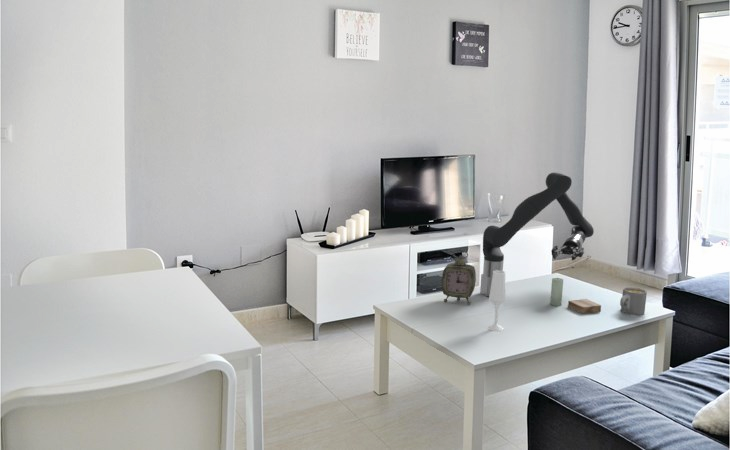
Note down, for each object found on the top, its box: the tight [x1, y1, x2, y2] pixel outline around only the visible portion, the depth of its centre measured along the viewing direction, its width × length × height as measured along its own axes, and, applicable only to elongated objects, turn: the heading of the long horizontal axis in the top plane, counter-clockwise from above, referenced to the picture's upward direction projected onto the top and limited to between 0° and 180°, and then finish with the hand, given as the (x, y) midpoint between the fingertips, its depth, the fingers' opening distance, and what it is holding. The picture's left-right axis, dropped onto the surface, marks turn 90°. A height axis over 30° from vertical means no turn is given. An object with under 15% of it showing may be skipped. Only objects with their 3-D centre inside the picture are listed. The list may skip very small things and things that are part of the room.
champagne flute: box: [486, 270, 507, 332], centre depth 271 cm, size 7×7×24 cm
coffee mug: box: [619, 286, 648, 316], centre depth 299 cm, size 13×10×10 cm
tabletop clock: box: [441, 248, 477, 306], centre depth 305 cm, size 14×9×25 cm, turn 73°
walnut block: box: [567, 298, 602, 315], centre depth 301 cm, size 10×10×3 cm
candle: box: [549, 277, 564, 307], centre depth 306 cm, size 5×5×13 cm
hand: (563, 257), depth 311 cm, fingers open, 8 cm apart
